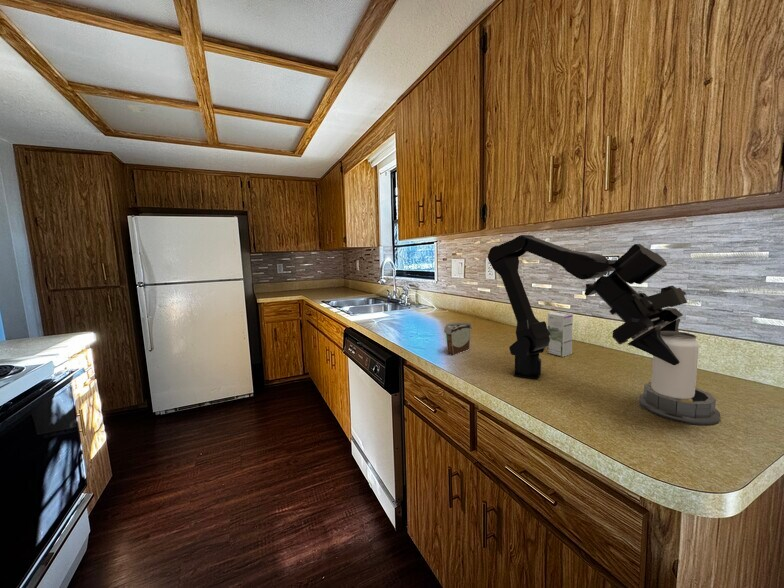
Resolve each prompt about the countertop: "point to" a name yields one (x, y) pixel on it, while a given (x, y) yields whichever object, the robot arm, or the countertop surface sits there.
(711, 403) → the collar
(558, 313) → the syrup box
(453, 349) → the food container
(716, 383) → the countertop surface
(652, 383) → the can
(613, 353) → the countertop surface
